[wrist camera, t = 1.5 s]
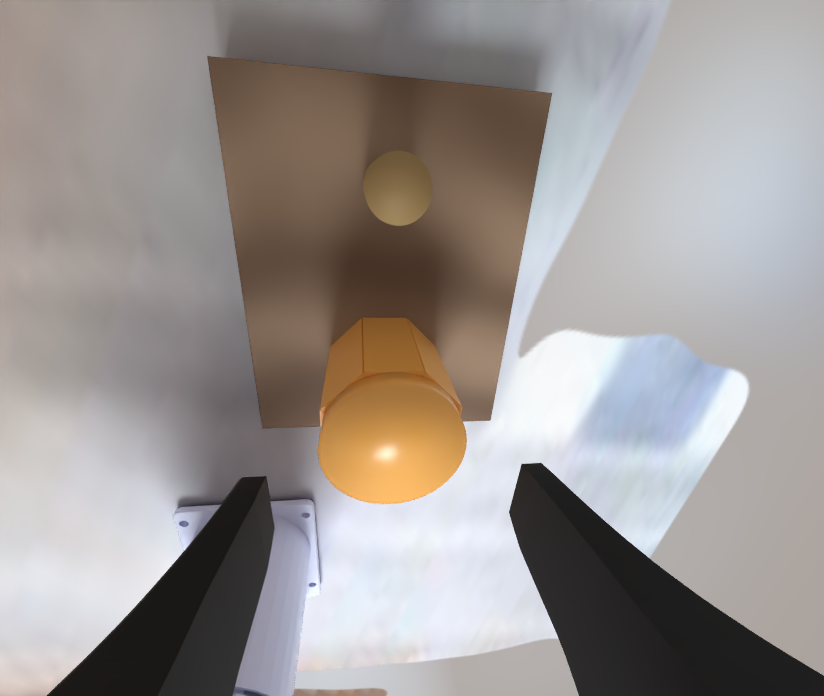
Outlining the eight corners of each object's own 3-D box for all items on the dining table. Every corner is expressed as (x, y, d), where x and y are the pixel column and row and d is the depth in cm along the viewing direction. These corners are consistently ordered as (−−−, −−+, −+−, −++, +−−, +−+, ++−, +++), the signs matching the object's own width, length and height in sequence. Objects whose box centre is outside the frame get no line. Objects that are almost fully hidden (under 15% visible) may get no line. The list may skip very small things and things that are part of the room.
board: (481, 404, 21) (519, 474, 16) (269, 410, 19) (238, 491, 14) (534, 100, 15) (622, 63, 10) (222, 68, 13) (139, 3, 8)
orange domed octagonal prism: (429, 407, 19) (457, 499, 13) (332, 409, 18) (322, 508, 13) (438, 318, 17) (475, 385, 11) (328, 317, 16) (313, 389, 11)
